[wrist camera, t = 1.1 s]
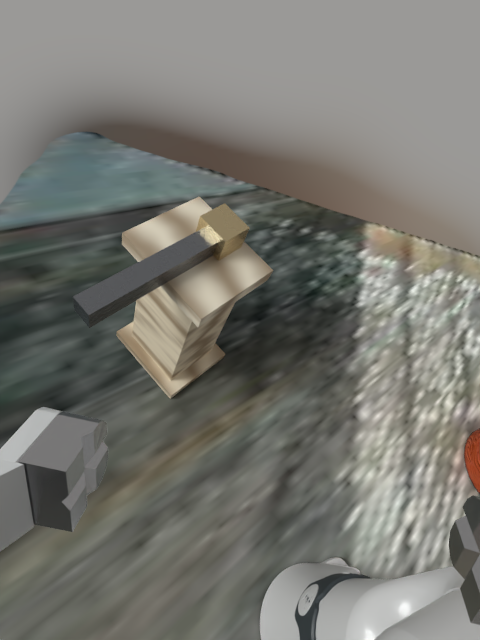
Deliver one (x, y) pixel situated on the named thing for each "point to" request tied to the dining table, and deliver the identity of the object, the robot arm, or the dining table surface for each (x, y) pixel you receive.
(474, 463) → the potted flower
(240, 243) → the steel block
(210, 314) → the shelf stand
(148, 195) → the dining table surface
